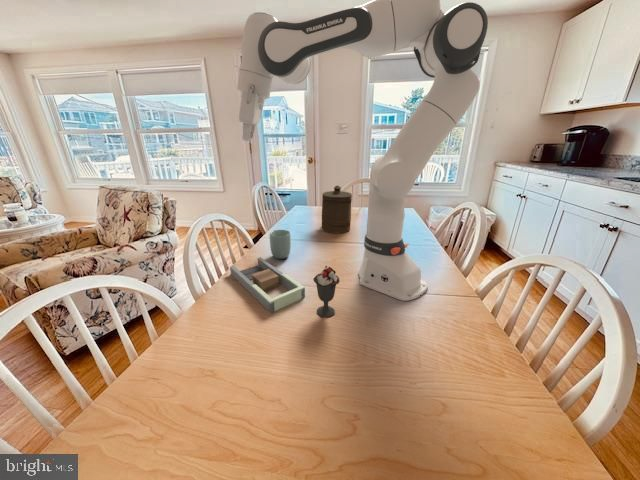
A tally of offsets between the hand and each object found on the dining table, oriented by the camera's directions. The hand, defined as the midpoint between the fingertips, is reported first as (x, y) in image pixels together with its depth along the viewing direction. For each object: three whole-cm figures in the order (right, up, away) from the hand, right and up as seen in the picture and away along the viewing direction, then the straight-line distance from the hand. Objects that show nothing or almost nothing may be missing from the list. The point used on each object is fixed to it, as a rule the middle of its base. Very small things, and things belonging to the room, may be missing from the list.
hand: (247, 139), depth 76 cm
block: (+4, -45, +5) cm, 45 cm away
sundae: (+23, -50, -7) cm, 55 cm away
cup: (+6, -37, +24) cm, 45 cm away
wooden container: (+30, -24, +56) cm, 68 cm away
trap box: (+4, -45, +5) cm, 45 cm away
